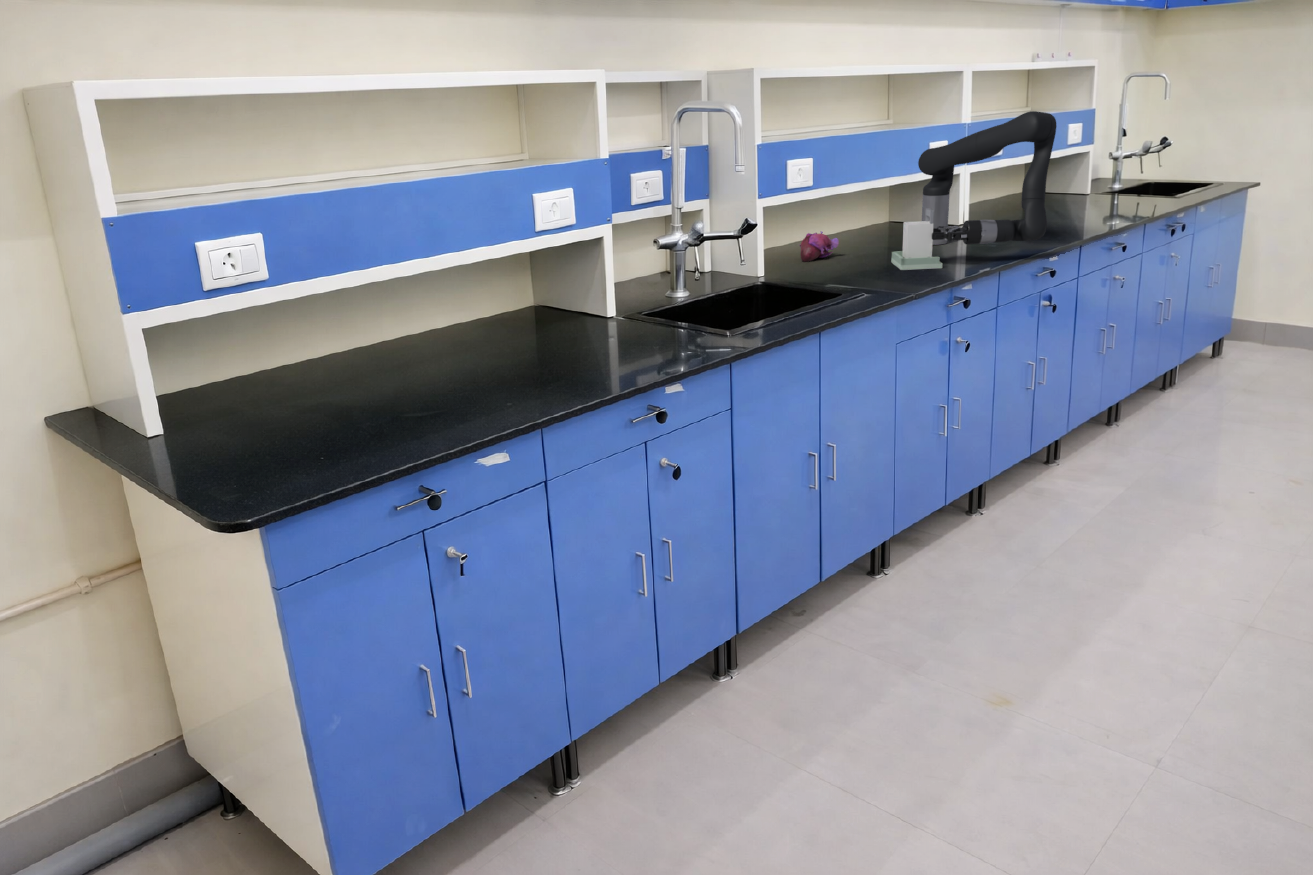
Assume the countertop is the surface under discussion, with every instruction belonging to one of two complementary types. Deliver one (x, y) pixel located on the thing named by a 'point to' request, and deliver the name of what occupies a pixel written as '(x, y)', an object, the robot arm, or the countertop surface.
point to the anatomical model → (816, 246)
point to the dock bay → (915, 262)
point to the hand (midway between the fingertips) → (928, 234)
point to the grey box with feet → (918, 237)
